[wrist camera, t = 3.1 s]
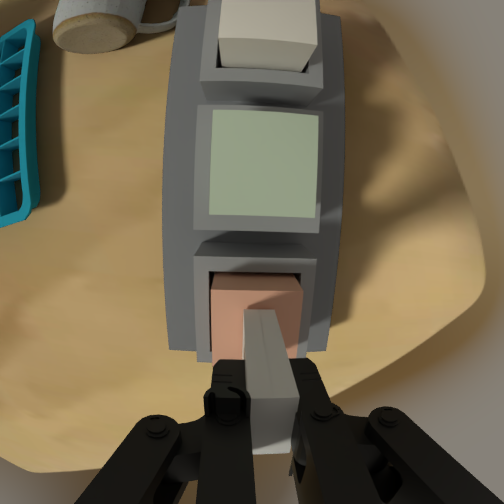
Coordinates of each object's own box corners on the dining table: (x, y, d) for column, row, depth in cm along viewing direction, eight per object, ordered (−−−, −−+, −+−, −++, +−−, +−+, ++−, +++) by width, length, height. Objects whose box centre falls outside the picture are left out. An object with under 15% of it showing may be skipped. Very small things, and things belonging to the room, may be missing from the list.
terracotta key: (217, 328, 19) (212, 366, 15) (217, 264, 18) (210, 289, 14) (283, 329, 19) (295, 366, 15) (288, 266, 19) (303, 290, 14)
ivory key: (222, 72, 15) (218, 37, 10) (227, 15, 14) (224, -27, 9) (298, 76, 15) (317, 45, 11) (297, 19, 14) (313, -20, 10)
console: (176, 331, 24) (157, 380, 17) (185, 24, 18) (169, -23, 12) (316, 333, 25) (340, 380, 18) (329, 32, 19) (357, -10, 12)
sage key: (216, 207, 16) (209, 214, 12) (219, 129, 16) (212, 109, 11) (294, 209, 17) (314, 217, 12) (297, 133, 16) (318, 115, 11)
